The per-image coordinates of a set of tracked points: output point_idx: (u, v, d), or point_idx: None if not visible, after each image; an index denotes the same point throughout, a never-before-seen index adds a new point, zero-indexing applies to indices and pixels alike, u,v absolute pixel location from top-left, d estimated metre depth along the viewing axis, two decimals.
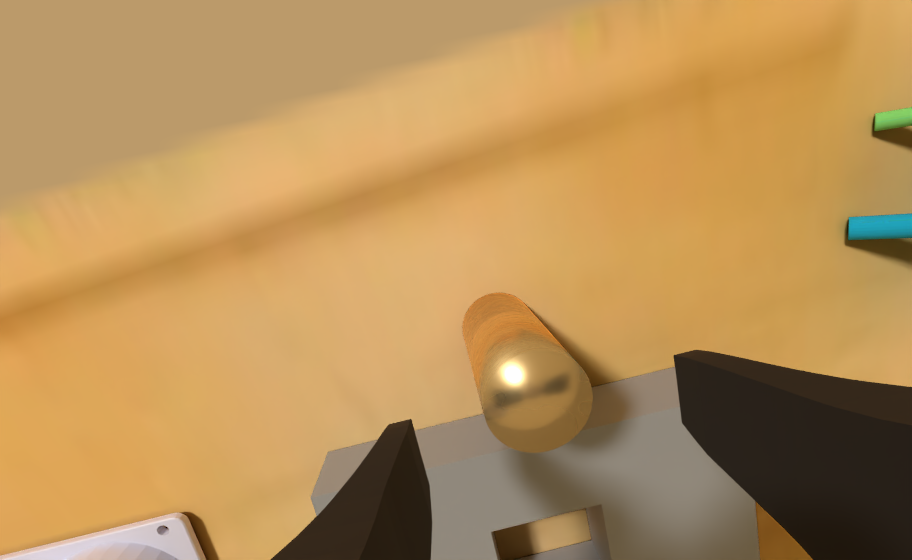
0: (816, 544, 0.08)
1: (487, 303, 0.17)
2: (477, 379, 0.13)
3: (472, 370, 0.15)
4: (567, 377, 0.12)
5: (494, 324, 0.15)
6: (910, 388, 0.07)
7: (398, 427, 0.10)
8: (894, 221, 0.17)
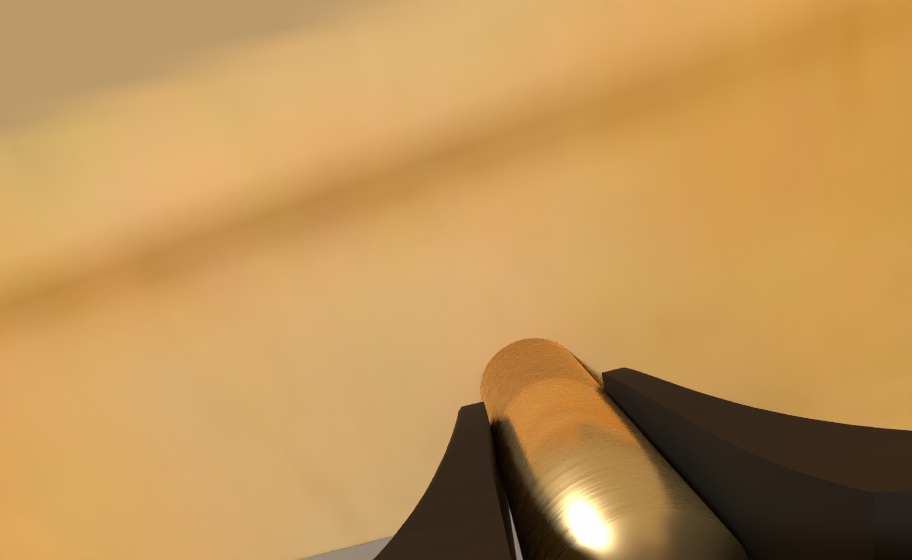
0: None
1: (520, 358, 0.11)
2: (519, 528, 0.07)
3: (503, 483, 0.09)
4: (707, 558, 0.06)
5: (540, 410, 0.09)
6: (792, 417, 0.07)
7: (475, 408, 0.10)
8: None
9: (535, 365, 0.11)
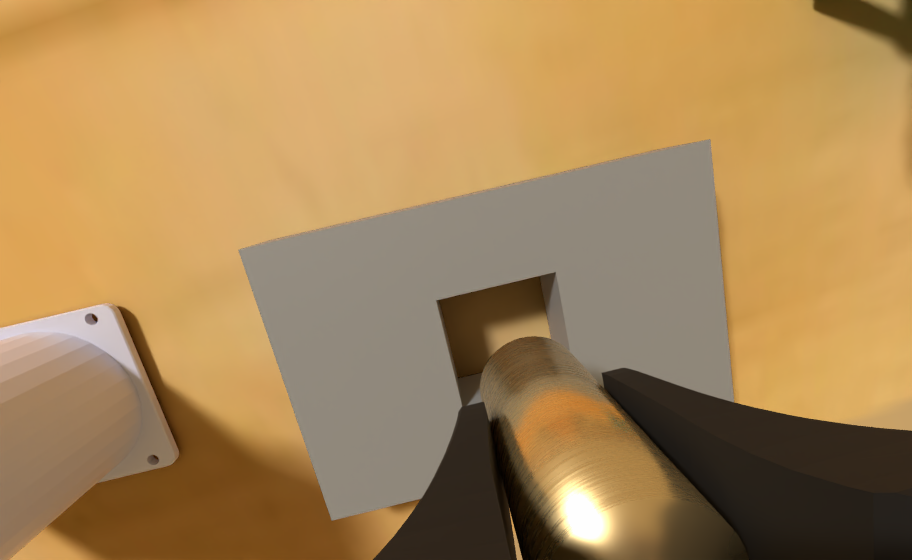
0: None
1: (519, 356, 0.11)
2: (517, 520, 0.07)
3: None
4: (703, 547, 0.06)
5: (538, 404, 0.09)
6: (792, 417, 0.07)
7: (474, 408, 0.10)
8: None
9: (534, 362, 0.11)
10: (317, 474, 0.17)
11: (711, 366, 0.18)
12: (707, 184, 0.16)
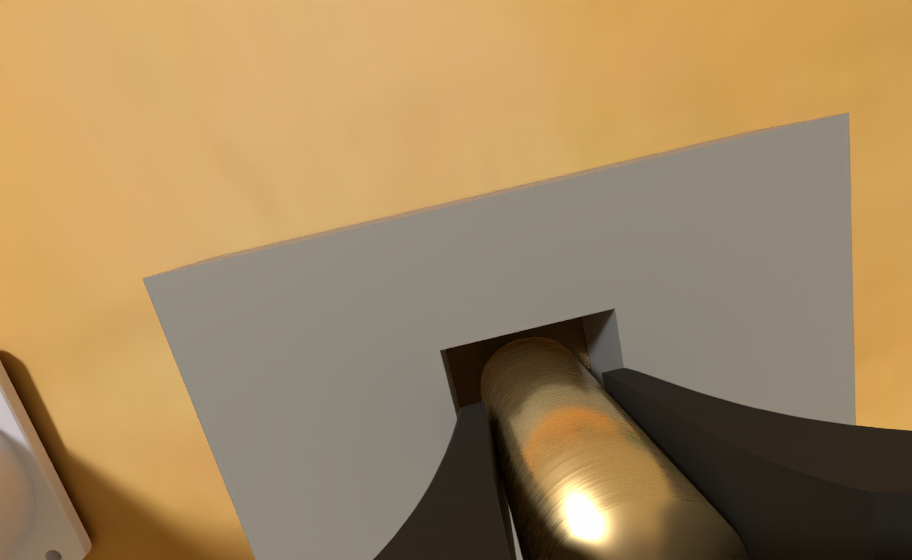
0: None
1: (519, 356, 0.11)
2: (517, 520, 0.07)
3: (502, 479, 0.09)
4: (703, 547, 0.06)
5: (538, 404, 0.09)
6: (792, 417, 0.07)
7: (474, 408, 0.10)
8: None
9: (534, 362, 0.11)
10: None
11: None
12: (839, 179, 0.11)
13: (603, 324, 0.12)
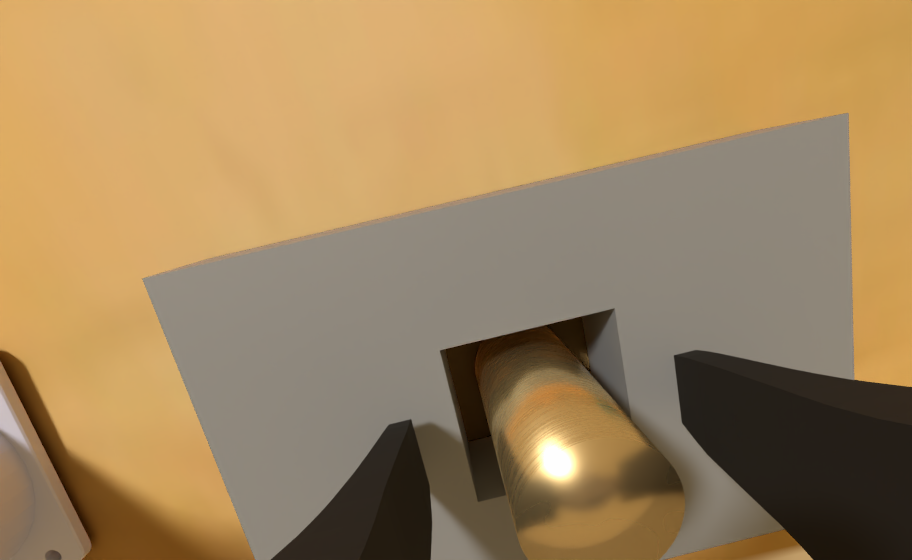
0: (816, 544, 0.08)
1: (508, 336, 0.13)
2: (502, 465, 0.09)
3: None
4: (647, 477, 0.08)
5: (522, 374, 0.11)
6: (910, 388, 0.07)
7: (398, 427, 0.10)
8: None
9: (521, 341, 0.12)
10: None
11: None
12: (839, 179, 0.11)
13: (603, 324, 0.12)
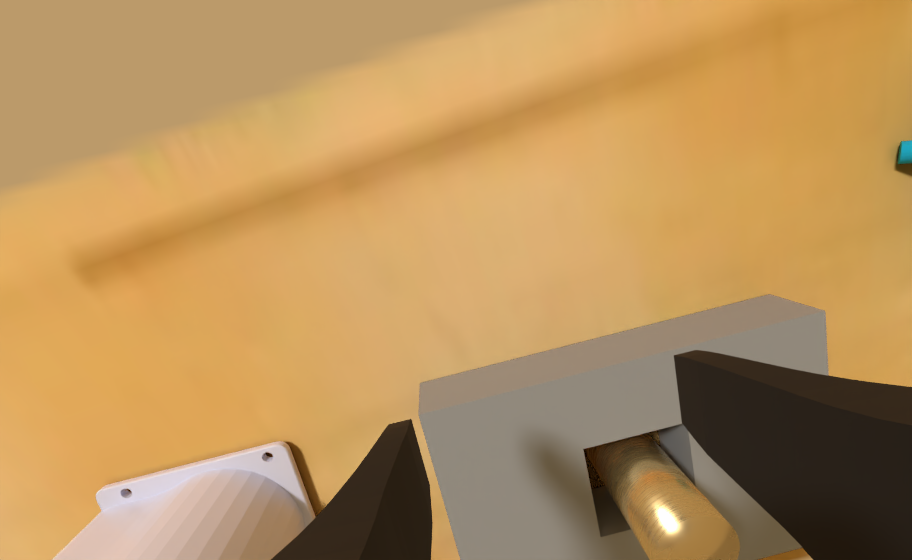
0: (816, 544, 0.08)
1: None
2: (636, 523, 0.17)
3: (616, 502, 0.18)
4: (721, 534, 0.15)
5: (636, 465, 0.18)
6: (910, 388, 0.07)
7: (398, 427, 0.10)
8: None
9: None
10: None
11: None
12: (820, 346, 0.18)
13: (675, 425, 0.20)
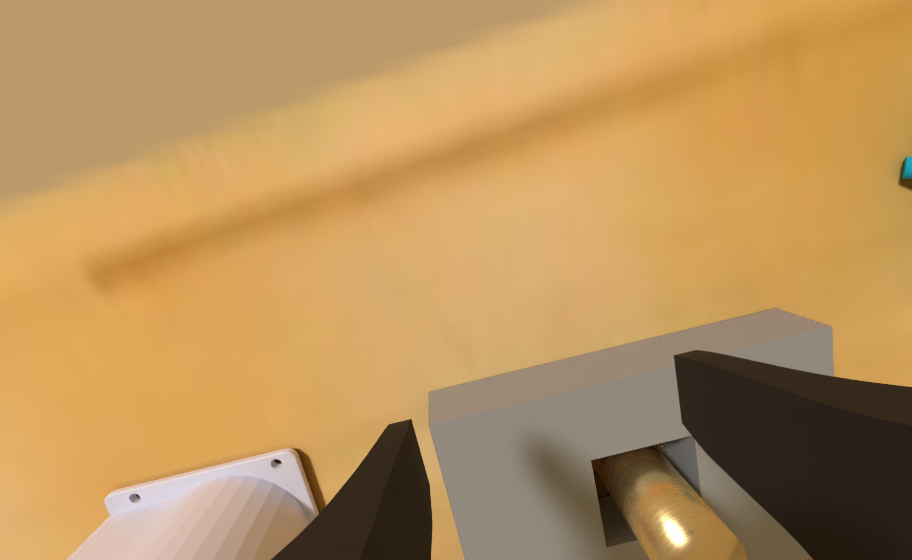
0: (816, 544, 0.08)
1: None
2: (643, 536, 0.17)
3: (623, 513, 0.18)
4: (728, 548, 0.15)
5: (643, 477, 0.18)
6: (910, 388, 0.07)
7: (398, 427, 0.10)
8: None
9: None
10: None
11: None
12: (827, 361, 0.18)
13: None
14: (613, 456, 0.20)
